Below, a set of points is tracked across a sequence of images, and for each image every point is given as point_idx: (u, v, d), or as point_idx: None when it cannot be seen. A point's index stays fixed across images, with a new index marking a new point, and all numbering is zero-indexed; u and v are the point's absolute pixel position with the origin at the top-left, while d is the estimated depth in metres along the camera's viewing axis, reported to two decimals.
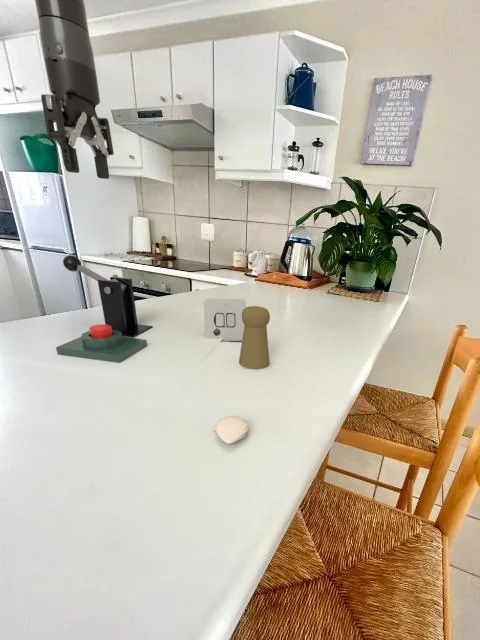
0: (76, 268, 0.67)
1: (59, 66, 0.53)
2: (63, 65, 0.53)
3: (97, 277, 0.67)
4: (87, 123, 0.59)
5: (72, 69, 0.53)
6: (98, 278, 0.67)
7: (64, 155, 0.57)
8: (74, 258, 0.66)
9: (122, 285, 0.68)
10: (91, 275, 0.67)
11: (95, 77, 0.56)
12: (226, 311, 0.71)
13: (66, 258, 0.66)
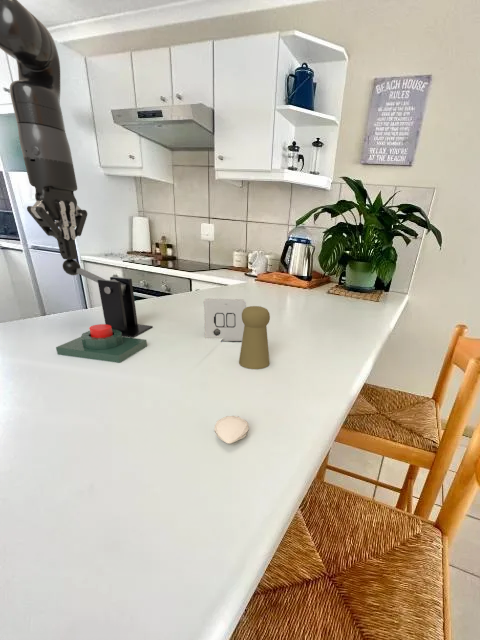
0: (76, 271, 0.67)
1: (37, 165, 0.56)
2: (40, 164, 0.56)
3: (97, 278, 0.67)
4: (65, 208, 0.63)
5: (49, 167, 0.57)
6: (98, 279, 0.67)
7: (60, 247, 0.65)
8: (73, 261, 0.67)
9: (122, 284, 0.68)
10: (91, 277, 0.67)
11: (72, 169, 0.60)
12: (226, 311, 0.71)
13: (65, 262, 0.66)
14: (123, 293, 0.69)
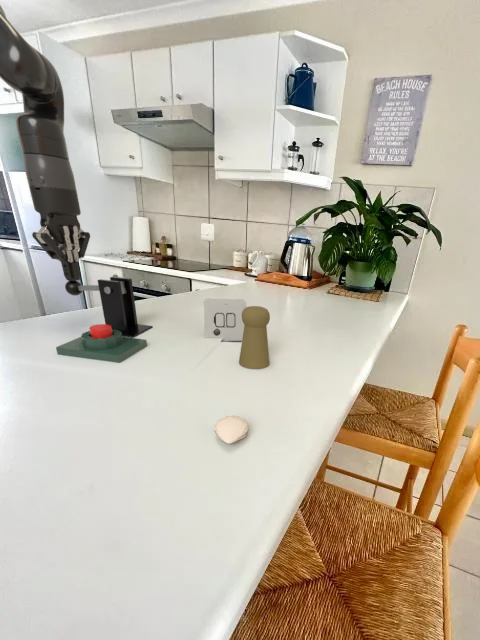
0: (78, 289, 0.69)
1: (42, 193, 0.58)
2: (45, 192, 0.58)
3: (97, 287, 0.68)
4: (69, 232, 0.65)
5: (53, 194, 0.59)
6: (98, 287, 0.68)
7: (64, 269, 0.67)
8: (72, 281, 0.69)
9: None
10: (92, 287, 0.68)
11: (75, 195, 0.62)
12: (226, 311, 0.71)
13: (66, 284, 0.68)
14: (124, 290, 0.69)
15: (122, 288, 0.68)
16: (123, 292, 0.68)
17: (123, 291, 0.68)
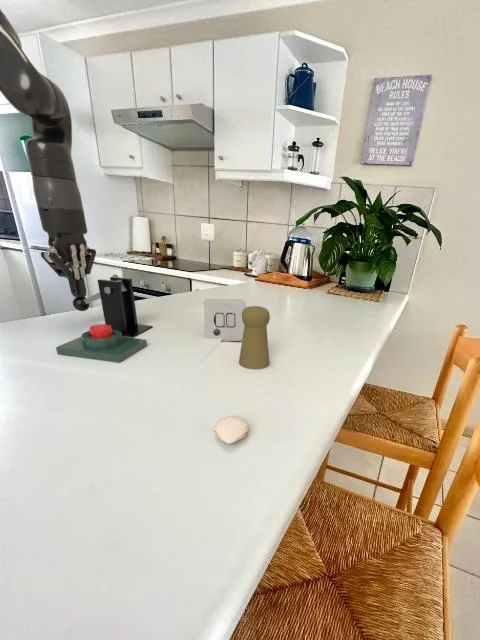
0: (84, 303, 0.70)
1: (50, 214, 0.60)
2: (53, 213, 0.60)
3: (99, 293, 0.69)
4: (76, 250, 0.66)
5: (61, 215, 0.60)
6: None
7: (71, 286, 0.68)
8: (77, 297, 0.70)
9: (117, 280, 0.68)
10: (95, 296, 0.69)
11: (82, 215, 0.64)
12: (226, 311, 0.71)
13: (73, 301, 0.70)
14: (124, 288, 0.69)
15: (121, 286, 0.68)
16: (123, 289, 0.68)
17: (123, 288, 0.68)
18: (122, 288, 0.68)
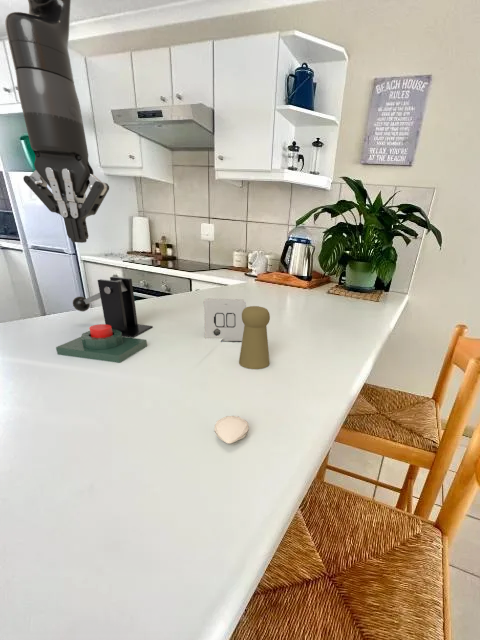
0: (84, 303, 0.70)
1: None
2: None
3: (99, 293, 0.69)
4: None
5: None
6: None
7: None
8: (77, 297, 0.70)
9: (117, 280, 0.68)
10: (95, 296, 0.69)
11: (47, 121, 0.46)
12: (226, 311, 0.71)
13: (73, 301, 0.70)
14: (124, 288, 0.69)
15: (121, 286, 0.68)
16: (123, 289, 0.68)
17: (123, 288, 0.68)
18: (122, 288, 0.68)
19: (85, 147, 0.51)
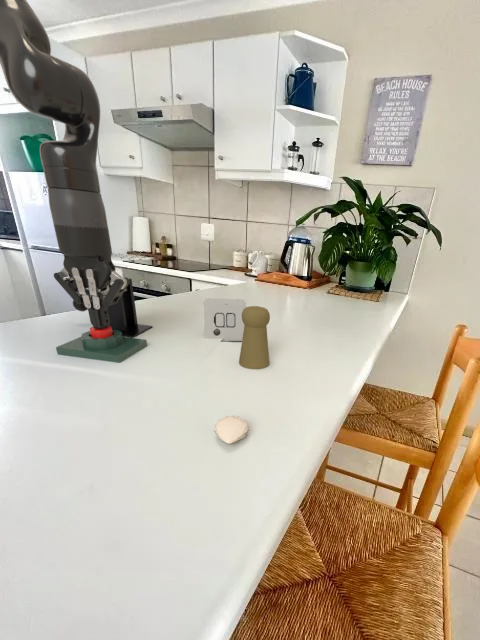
0: None
1: None
2: None
3: None
4: None
5: (55, 232, 0.51)
6: None
7: None
8: None
9: None
10: None
11: (72, 232, 0.49)
12: (226, 311, 0.71)
13: (73, 301, 0.70)
14: None
15: None
16: None
17: None
18: None
19: (108, 248, 0.53)
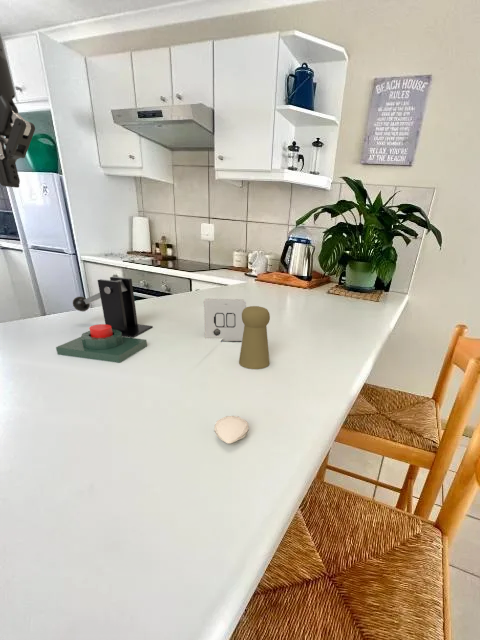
0: (84, 303, 0.70)
1: None
2: None
3: (99, 293, 0.69)
4: None
5: None
6: None
7: None
8: (77, 297, 0.70)
9: (117, 280, 0.68)
10: (95, 296, 0.69)
11: None
12: (226, 311, 0.71)
13: (73, 301, 0.70)
14: (124, 288, 0.69)
15: (121, 286, 0.68)
16: (123, 289, 0.68)
17: (123, 288, 0.68)
18: (122, 288, 0.68)
19: (6, 83, 0.49)
